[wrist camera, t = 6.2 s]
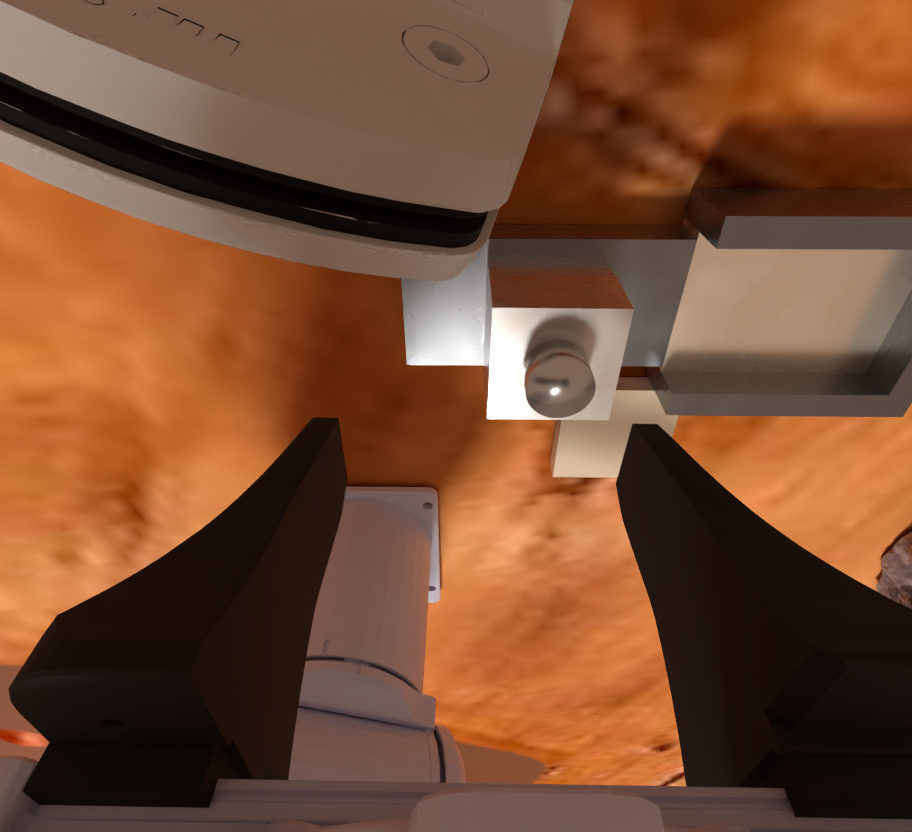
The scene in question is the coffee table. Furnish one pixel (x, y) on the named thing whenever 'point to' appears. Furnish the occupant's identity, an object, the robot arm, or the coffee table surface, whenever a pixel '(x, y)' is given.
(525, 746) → the coffee table surface
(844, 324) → the flange rail
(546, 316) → the block
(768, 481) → the coffee table surface
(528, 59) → the grey rounded housing
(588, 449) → the pad
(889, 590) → the black rock
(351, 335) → the coffee table surface
